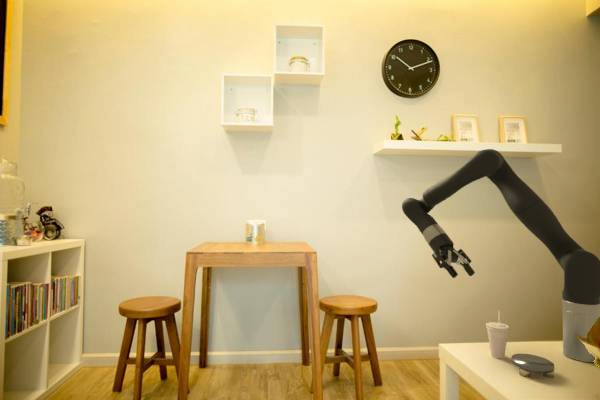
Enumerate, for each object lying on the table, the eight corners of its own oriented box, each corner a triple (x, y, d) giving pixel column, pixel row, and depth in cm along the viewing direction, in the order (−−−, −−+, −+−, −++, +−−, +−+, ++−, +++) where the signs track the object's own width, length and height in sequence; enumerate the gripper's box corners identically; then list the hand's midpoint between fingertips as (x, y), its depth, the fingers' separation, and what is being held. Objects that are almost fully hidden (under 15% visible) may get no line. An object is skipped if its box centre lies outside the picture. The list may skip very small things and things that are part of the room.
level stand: (512, 361, 106) (512, 350, 106) (553, 369, 101) (553, 358, 101) (511, 374, 98) (511, 363, 98) (555, 384, 92) (555, 372, 93)
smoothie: (512, 361, 106) (512, 314, 107) (489, 359, 108) (489, 313, 108) (505, 353, 113) (504, 308, 113) (483, 351, 114) (482, 307, 114)
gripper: (429, 233, 126) (456, 270, 115) (456, 232, 132) (485, 267, 122) (418, 246, 130) (443, 283, 120) (445, 245, 137) (471, 280, 127)
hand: (464, 275), depth 121 cm, fingers open, 8 cm apart
